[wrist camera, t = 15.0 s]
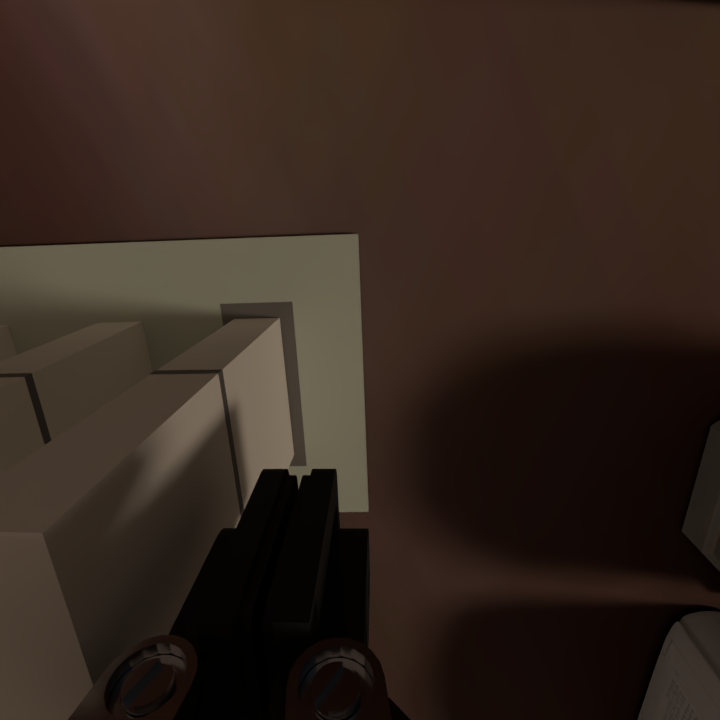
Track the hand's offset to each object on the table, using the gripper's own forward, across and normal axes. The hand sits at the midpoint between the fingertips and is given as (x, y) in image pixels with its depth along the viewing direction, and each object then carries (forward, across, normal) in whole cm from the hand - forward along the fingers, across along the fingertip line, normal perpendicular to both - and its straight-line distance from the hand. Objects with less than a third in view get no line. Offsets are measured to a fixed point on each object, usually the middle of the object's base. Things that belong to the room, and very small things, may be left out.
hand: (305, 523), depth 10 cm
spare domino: (+8, +3, 0) cm, 9 cm away
